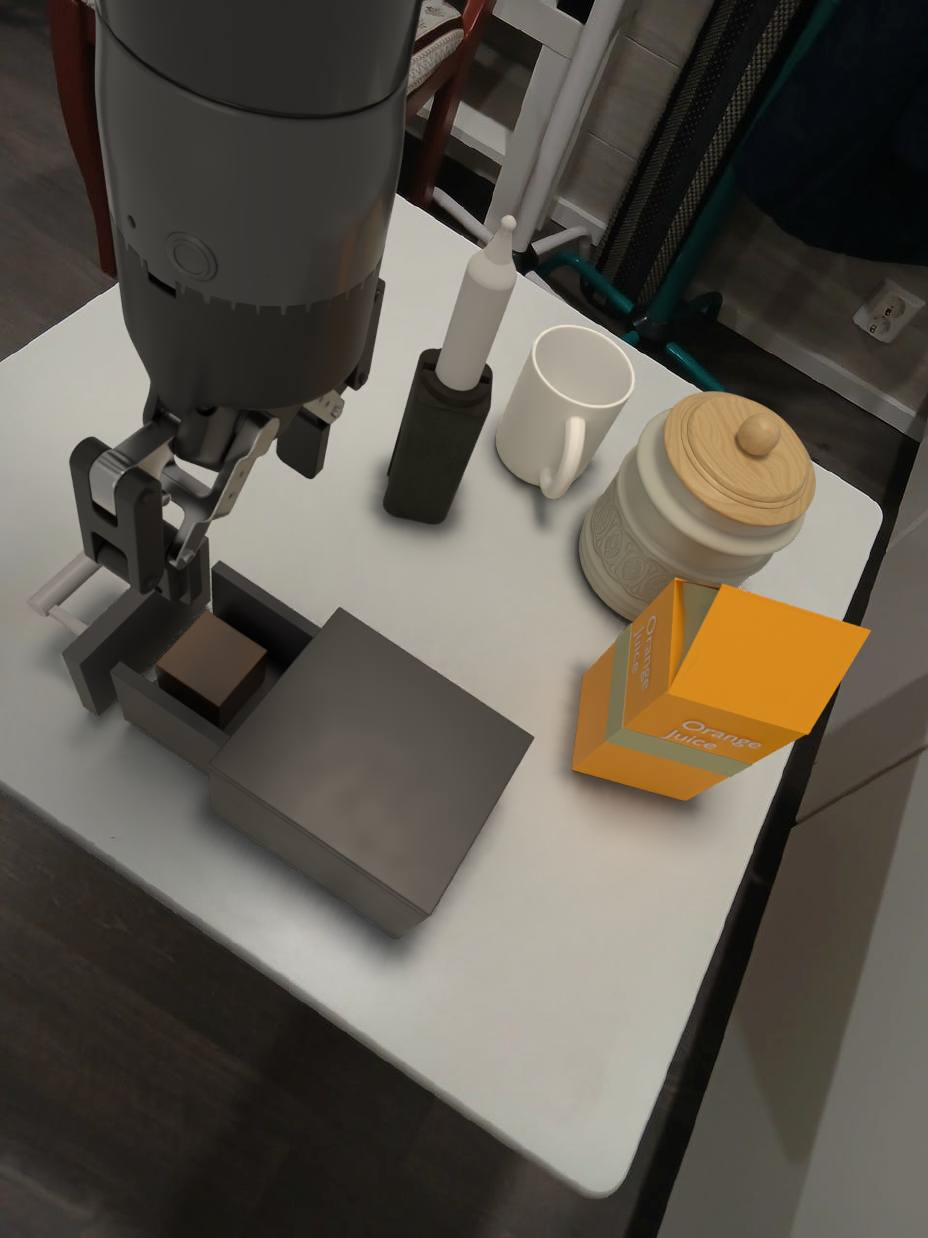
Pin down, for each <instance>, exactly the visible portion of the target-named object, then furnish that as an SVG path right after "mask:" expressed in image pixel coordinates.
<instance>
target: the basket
mask: <svg viewBox="0 0 928 1238" xmlns="http://www.w3.org/2000/svg"><path fill="white" fill-rule="evenodd" d="M199 550H200V551H201V572H202V593H201V594H200V595H199V596H198V597H197V598H196V599H195V600H194V601H193V602H192V603H191V604H186V603H184V602H182V601H181V600H178V601H177V602H176V603H175V604H174V603H172V602H171V601H169V600H168V599H166V598H165V597H164V596H162V595H161V594H159V593H158V592H156V591H155V590H152V591H151V592H149V593H147V594H145V595H142V594H141V593H139V592H138V591H136V590H135V589H133V588H132V587H131V586H129V588H127V589H126V590H125V591H124V592H123V593H122V594H121V595H120V596H119V597H118V598H117V599H116V600H115V601H114V602H113V603H111V605H110V606H108V608H106V609H105V610H104V612H102V613H101V614H100V615H99V616H98V617H97V618H96V619H95V620H93V622H92V623H90V625H89V626H88V625H86V624H85V623H84V622H82V621H81V620H80V619H78V618H77V617H75V616H74V615H72V614H71V613H69V612H68V611H66V610H65V609H63V608H62V607H60V606H61V605H62V604H64V602H65V601H66V600H68V598H69V597H71V596H72V595H73V594H74V593H75V592H77V590H79V588H80V587H82V586H83V585H84V584H85V583H86V582H87V581H88V580H89V579H90V578H91V577H92V576H94V575H95V574H96V573H97V572H98V571H99V570H100V569H102V568H103V566H102V565H101V564H97V563H96V562H94V561H93V560H91V559H90V558H88V557H87V556H86V555H85V553H84V549H82V551H81V552H79V553H78V554H77V555H76V556H75V557H73V558H72V559H71V561H69V562H68V563H67V564H66V565H65V566H64V567H62V569H60V570H59V571H58V572H57V573H56V574H54V575H53V576H52V577H51V578H50V579H49V580H48V581H46V582H45V583H44V584H43V585H42V586H41V587H40V588H38V590H36V591H35V592H34V593H33V594H32V595H30V596H29V597H28V598H27V600H26V604H27V605H28V607H29V608H30V609H31V610H32V611H33V612H35V613H36V614H37V615H39V616H40V617H42V618H47V617H49V616H50V618H52V619H54V620H55V621H57V622H58V623H59V624H61V625H63V626H64V627H65V628H67V629H68V630H70V631H71V632H73V633H74V634H75V635H77V637H76V638H75V639H74V640H73V641H71V643H70V644H69V645H68V646H67V647H65V649H64V650H62V652H61V655H62V658H63V660H64V663H65V666H66V668H67V670H68V673H69V675H70V678H71V680H72V682H73V685H74V688H75V690H76V693H77V694H78V697H79V700H80V702H81V704H82V707H83V708H84V709H85V710H87V711H89V712H90V713H91V714H93V715H94V716H95V717H97V718H100V717H101V716H102V715H103V714H104V713H105V712H106V711H107V710H108V709H109V707H111V706H112V704H114V702H115V701H117V700H118V703H119V706H120V709H121V712H122V717H123V719H124V721H126V722H127V723H129V724H130V725H132V726H133V727H135V728H136V729H138V730H139V731H141V733H143V734H145V735H146V736H148V737H149V738H151V739H152V740H153V741H155V742H156V743H158V744H160V745H161V746H162V747H163V748H165V749H167V750H168V751H169V752H171V753H172V754H174V755H175V756H177V757H178V758H179V759H181V760H183V762H185V763H187V764H188V765H190V766H191V767H193V768H194V769H196V770H197V771H198V772H200V773H201V774H202V775H204V776H206V777H207V778H209V762H210V761H211V760H212V758H213V757H214V756H215V755H216V754H217V752H218V751H219V750H220V749H221V748H222V746H223V745H224V744H225V743H226V742H227V740H228V739H229V738H230V737H231V736H232V734H233V733H234V732H235V731H236V730H237V728H238V727H239V726H240V725H241V724H242V722H243V721H244V720H245V719H246V718H247V716H248V715H249V714H250V713H251V712H252V710H253V709H254V708H255V707H256V706H257V704H258V703H259V702H260V701H261V700H262V698H263V697H264V696H265V695H266V694H267V692H268V691H269V690H270V689H271V688H272V686H273V685H274V684H275V683H276V682H277V680H278V679H279V678H280V677H281V676H282V674H283V673H284V672H285V671H286V670H287V669H288V667H289V666H290V665H291V664H292V663H293V661H294V660H295V659H296V658H297V657H298V655H299V654H300V653H301V652H302V651H303V649H304V648H305V647H306V646H307V645H308V643H309V642H310V641H311V640H312V639H313V637H314V636H315V635H316V634H317V633H318V631H319V630H320V629H321V628H322V627H320V626H319V625H317V624H316V623H314V622H313V621H311V620H310V619H309V618H307V617H306V616H304V615H303V614H301V613H300V612H298V611H297V610H295V609H293V608H292V607H290V606H289V605H288V604H286V603H285V602H283V601H281V600H280V599H278V598H277V597H276V596H274V595H273V594H271V593H270V592H268V591H266V590H265V589H264V588H262V587H261V586H259V585H258V584H256V583H255V582H253V581H252V580H250V579H249V578H247V577H246V576H244V575H243V574H241V573H240V572H238V571H237V570H235V569H234V568H233V567H231V566H230V565H228V564H226V563H225V562H223V561H222V560H221V559H220V560H219V559H218V561H217V562H216V563H215V564H213V566H211V563H210V562H211V561H210V538H209V537H208V536H207V535H205V536H204V538H203V540H202V542H201V544H200V547H199ZM210 602H211V613H212V614H214V615H215V616H217V617H218V618H220V619H221V620H223V621H224V622H226V623H227V624H229V625H230V626H232V627H233V628H235V629H236V630H238V631H239V632H241V633H242V634H244V635H245V636H247V637H248V638H250V639H251V640H253V641H254V642H255V643H257V644H258V645H260V646H261V647H263V648H264V649H266V650H267V661H266V671H265V680H264V682H263V683H262V684H261V685H260V686H259V688H258V689H257V690H256V691H255V692H254V694H253V695H252V696H251V697H250V698H249V700H248V701H247V702H246V703H245V704H244V706H243V707H242V708H241V709H240V710H239V712H238V713H237V714H236V715H235V716H234V717H233V719H232V720H231V721H230V722H229V723H228V725H227V726H226V727H225V728H224V729H223V731H222V730H221V729H219V728H218V727H216V726H215V725H213V724H212V723H210V722H209V721H207V720H206V719H204V718H203V717H202V716H200V715H199V714H197V713H196V712H194V711H193V710H191V709H190V708H188V707H187V706H186V705H184V704H183V703H181V702H180V701H178V700H177V699H175V698H174V697H172V696H171V695H169V694H168V693H167V692H165V691H164V690H162V689H161V688H159V685H158V679H157V678H155V680H154V681H153V682H152V681H150V680H149V679H148V678H146V677H145V676H143V675H142V673H143V672H144V671H145V670H146V669H147V668H148V667H149V666H150V665H151V663H153V662H154V661H155V660H156V659H157V657H158V656H159V655H161V654H162V653H163V651H164V650H165V649H166V648H167V647H168V646H169V645H170V644H171V643H172V642H173V641H174V640H175V639H176V638H177V637H178V635H180V634H181V632H183V630H184V629H185V628H186V627H188V625H190V623H191V622H192V621H193V620H194V619H195V618H196V617H197V616H198V615H199V613H201V612H202V611H203V610H204V609H205V608H206V607H207V606H208V605H209V603H210Z"/></svg>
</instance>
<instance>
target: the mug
mask: <svg viewBox="0 0 928 1238" xmlns="http://www.w3.org/2000/svg"><path fill="white" fill-rule="evenodd" d="M635 375H636V374H635V370H634V367H633V365H632V362H631V360H630V358H629V357H628V356H627V354H626V353H625V351H623V349H622V348H621V347H620V346H619V345H618V344H616V342H614V341H613V340H612V339H610V338H609V337H608V336H606V335H604V334H603V333H600V332H599V331H596V330H595V329H592V328H589V327H585V326H582V325H575V324H559V325H554V326H552V327H549V328H547V329H545V330H544V331H542V332H541V333H540V334H539V335H537V337H536V338H535V339H534V342H533V343H532V345H531V348H530V351H529V353H528V355H527V358H526V360H525V362H524V364H523V367H522V369H521V371H520V373H519V376H518V378H517V380H516V383H515V385H514V387H513V390H512V392H511V394H510V397H509V399H508V401H507V403H506V406H505V408H504V411H503V413H502V415H501V418H500V420H499V422H498V426H497V429H496V433H495V446H496V450H497V453H498V456H499V458H500V460H501V461H502V462H503V464H504V465H505V467H506V469H508V470H509V471H510V472H511V473H512V474H514V475H515V477H517V478H519V479H520V480H522V481H524V482H526V483H528V484H531V485H533V486H536V487H537V486H538V487H540V490H541V492H542V494H543V495H544V496H545V497H546V498H548V499H550V500H556V499H559V498H561V497H562V496H564V495H565V494H566V492H567V491H568V489H570V487H571V485H572V483H573V482H574V481H575V480H577V479H578V478H579V477H580V476H581V475H582V474H583V473H584V472H585V470H586V468H587V467H588V465H589V464H590V462H591V460H592V459H593V457H594V455H595V454H596V453H597V451H598V449H599V447H600V446H601V444H602V443H603V441H604V439H605V438H606V436H607V434H608V433H609V431H610V429H611V428H612V426H613V425H614V423H615V422H616V420H617V418H618V417H619V415H620V413H621V412H622V410H623V408H624V407H625V406H626V403H627V402H628V400H629V398H631V395H632V394H633V392H634V389H635V384H636V376H635Z"/></svg>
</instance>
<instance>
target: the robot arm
mask: <svg viewBox="0 0 928 1238" xmlns="http://www.w3.org/2000/svg"><path fill="white" fill-rule="evenodd" d="M93 2H94V14H95V15H94V16H95V57H94V58H95V59H94V63H95V64H94V94H95V95H94V96H95V107H96V115H97V116H96V119H97V129H98V134H99V142H100V143H99V144H100V150H101V158H102V165H103V172H104V179H105V187H106V196H107V203H108V211H109V218H110V219H109V220H110V227H111V234H112V242H113V249H114V258H115V263H116V273H117V280H118V281H117V282H118V289H119V296H120V303H121V312H122V317H123V320H124V325H125V328H126V331H127V334H128V336H129V338H130V340H131V343H132V345H133V347H134V349H135V352H136V353H137V355H138V357H139V359H140V361H141V363H142V365H143V367H144V369H145V372H146V374H147V376H148V378H149V389H148V394H147V398H146V401H145V403H144V406H143V410H142V418H141V419H142V425H143V426H141V427H140V428H139V429H137V430H136V431H135V432H133V433H132V434H131V435H130V436H128V437H127V438H125V439H124V440H123V441H121V443H119V444H118V445H116V446H115V447H114V448H112V447H111V446H109V445H108V444H106V443H104V442H103V441H102V440H101V439H99V438H97V437H96V436H93V435H92V436H91V435H90V436H87V437H85V438H83V439H82V440H81V441H79V442H78V443H77V445H75V447H74V448H73V450H72V451H71V453H70V456H69V459H68V464H69V471H70V476H71V483H72V489H73V494H74V500H75V505H76V512H77V517H78V523H79V529H80V535H81V541H82V547H83V550H84V553H85V555H86V556H87V557H88V558H90V559H91V560H93V561H94V562H96V563H97V564H101V565H102V567H104V568H105V569H107V570H108V571H109V572H111V573H112V574H113V575H115V576H117V577H118V578H119V579H121V580H123V581H124V582H126V583H127V584H128V585H129V587H132V588H133V589H135V590H136V591H138V592H139V593H141V594H142V595H145V594H147V593H149V592H151V591H152V590H155V591H156V592H158V593H159V594H161V595H162V596H164V597H165V598H166V599H168V600H169V601H171V602H172V603H174V604H175V603H176V602H177V601H178V600H181V601H182V602H184V603H186V604H191V603H192V602H193V601H194V600H195V599H196V598H197V597H198V596H199V595H200V594H201V593H202V572H201V551H200V550H199V547H200V544H201V542H202V540H203V538H204V536H206V534H207V532H208V530H209V527H210V526H211V523H212V522H213V521H216V520H218V519H221V518H225V517H227V516H229V515H230V514H231V512H232V510H233V509H234V506H235V504H236V502H237V500H238V498H239V496H240V493H241V492H242V489H243V487H244V486H245V484H246V481H247V479H248V477H249V476H250V473H251V472H252V469H253V467H254V465H255V463H256V461H257V459H258V458H260V457H263V456H265V455H266V454H267V453H268V452H269V450H270V448H271V445H272V443H273V441H275V440H276V444H275V445H276V446H275V454H276V456H277V457H278V459H279V460H280V461H281V462H282V463H283V464H284V465H287V466H288V467H289V468H290V469H292V470H293V471H295V472H297V473H298V474H299V475H301V476H303V477H304V478H305V479H308V480H314V479H315V478H316V477H317V476H318V475H319V474H320V473H321V472H322V471H323V470H324V466H325V460H326V454H327V449H328V442H329V438H330V433H331V426H332V424H334V423H335V421H337V420H338V419H339V418H340V417H341V415H342V413H343V411H344V408H345V400H344V399H343V398H342V395H343V394H344V392H345V391H346V390H347V388H348V387H349V388H350V389H351V390H353V391H354V392H357V391H359V390H360V389H362V387H363V386H364V385H366V383H367V382H368V380H369V376H370V372H371V368H372V363H373V357H374V351H375V347H376V346H375V345H376V341H377V336H378V335H377V334H378V329H379V325H380V319H381V314H382V307H383V303H384V297H385V291H386V284H387V283H386V280H384V279H382V278H381V277H380V272H381V267H382V262H383V258H384V253H385V248H386V243H387V237H388V232H389V229H390V228H389V227H390V222H391V219H392V214H393V209H394V204H395V199H396V194H397V190H398V185H399V181H400V180H399V179H400V174H401V168H402V163H403V162H402V160H403V155H404V154H403V153H404V144H405V135H406V134H405V133H406V116H407V115H406V113H407V112H406V111H407V98H408V87H409V86H408V85H409V79H410V74H411V73H410V72H411V67H412V66H411V65H412V59H413V54H414V49H415V44H416V38H417V34H418V29H419V23H420V17H421V13H422V9H423V8H422V7H423V2H424V0H93ZM175 457H177V458H178V459H179V460H181V461H184V462H186V463H189V464H192V465H194V466H198V467H200V468H203V469H206V470H208V471H212V472H215V473H218V474H217V476H216V478H215V480H214V483H213V484H212V486H211V488H210V486H207V485H206V484H205V483H204V482H202V481H200V480H199V479H197V478H196V477H194V476H193V475H191V474H190V473H188V471H185V470H184V469H183V468H181V467H180V466H179V465H178V464H177V462H176V460H175ZM170 502H173V503H174V504H175V505H176V506H178V507H180V508H181V510H182V511H183V514H184V515H183V520H182V523H181V524H180V526H179V528H177V527H175V526H174V525H172V524H171V523H170V522H168V521H167V520H165V519H164V516H163V515H164V514H163V513H164V512H163V510H164V509H163V508H164V507H167V506H168V505H169V504H170Z"/></svg>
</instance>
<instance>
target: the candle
mask: <svg viewBox="0 0 928 1238" xmlns="http://www.w3.org/2000/svg"><path fill="white" fill-rule="evenodd" d="M516 228H517V220H516V219H515V217H514V216H513V215H511V214H508V215H507V214H506V215H505V216H503V217H502V218H501V220H500V227H499V229H498V231H496V232H495V234H494V236H492V238H491V239H490V241H489V242H488V243H487V244H486V245H485V247H484V248H482V249H480V250H478V251H476V253H474V254H472V256H471V257H469V259H468V262H467V264H466V268H465V271H464V274H463V277H462V280H461V281H462V282H461V285H460V286H459V291H458V294H457V297H456V301H455V304H454V307H453V311H452V314H451V317H450V320H449V323H448V327H447V330H446V334H445V337H444V341H443V344H442V346H441V347H440V348H435V347H434V348H433V347H432V348H427V349H425V350H423V351H422V352H421V353H420V354H419V356H418V360H417V364H416V367H415V371H414V375H413V377H412V382H411V385H410V389H409V393H408V396H407V399H406V404H405V407H404V411H403V414H402V418H401V421H400V425H399V430H398V432H397V436H396V439H395V444H394V447H393V451H392V454H391V457H390V461H389V465H388V469H387V472H386V476H387V477H388V481H387V486H386V489H385V492H384V496H383V500H382V506H383V508H384V510H385V512H386V513H388V514H389V515H390V516H393V517H395V518H401V519H406V520H411V521H415V522H421V523H425V524H430V525H438V524H441V523H442V522H444V521H445V520H446V519H447V516H448V513H449V511H450V509H451V507H452V504H453V501H454V499H455V496H456V494H457V492H458V490H459V487H460V484H461V482H462V479H463V477H464V474H465V472H466V469H467V467H468V465H469V462H470V460H471V457H472V455H473V452H474V450H475V448H476V445H477V443H478V440H479V438H480V435H481V433H482V430H483V428H484V426H485V423H486V421H487V418H488V416H489V413H490V412H491V411H490V410H491V407H492V396H493V383H494V382H493V381H494V372H493V370H492V367H491V366H490V365H489V364H488V363H487V361H488V358H489V355H490V352H491V350H492V347H493V345H494V342H495V339H496V337H497V334H498V331H499V329H500V326H501V323H502V321H503V318H504V315H505V312H506V310H507V307H508V305H509V302H510V299H511V298H512V294H513V291H514V289H515V286H516V283H517V279H518V274H517V273H518V272H517V268H516V265H515V262H514V259H513V231H514V230H515V229H516Z"/></svg>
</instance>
